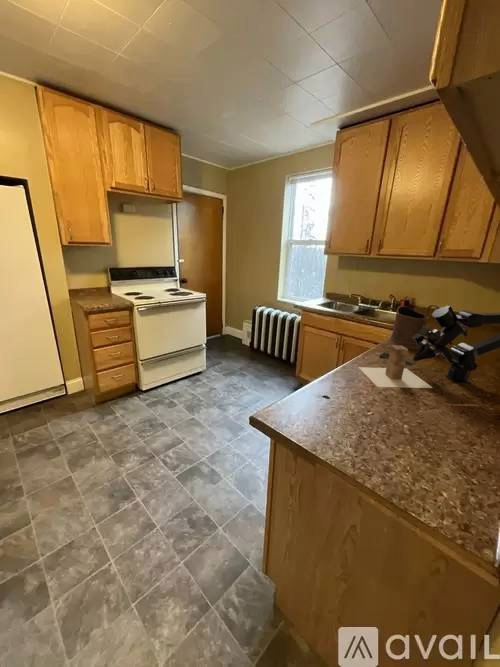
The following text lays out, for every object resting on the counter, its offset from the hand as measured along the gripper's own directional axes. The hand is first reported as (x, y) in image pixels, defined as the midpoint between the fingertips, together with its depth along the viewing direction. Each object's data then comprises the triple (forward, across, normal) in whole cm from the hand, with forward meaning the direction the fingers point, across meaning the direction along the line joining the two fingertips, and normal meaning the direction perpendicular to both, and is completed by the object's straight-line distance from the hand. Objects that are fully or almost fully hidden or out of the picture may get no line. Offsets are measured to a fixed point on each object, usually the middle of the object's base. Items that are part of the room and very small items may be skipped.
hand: (413, 360), depth 114 cm
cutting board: (+11, 0, +1) cm, 11 cm away
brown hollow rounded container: (-13, -44, +25) cm, 52 cm away
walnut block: (+10, 0, 0) cm, 11 cm away
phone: (+2, -20, +10) cm, 23 cm away
